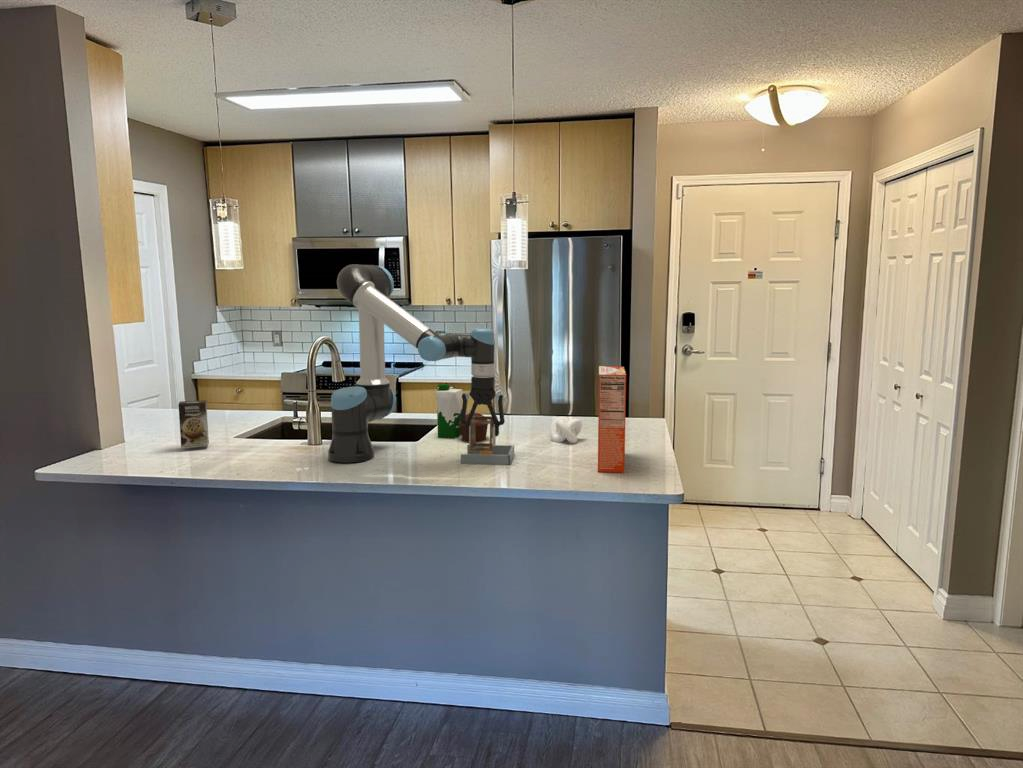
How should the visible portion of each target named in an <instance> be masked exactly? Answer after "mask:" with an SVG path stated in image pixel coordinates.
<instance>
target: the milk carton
mask: <svg viewBox="0 0 1023 768" xmlns="http://www.w3.org/2000/svg"><path fill="white" fill-rule="evenodd" d="M462 394H463V389H461V388H460V389H457V388H450V384H449V383H439V384H438V389H437V390H436V391H435V396H436V397H435V398H436V415H437V418H436V419H437V420H436V421H437V423H436V424H437V438H439V439H454V440H455V439H457V438H458V437H460V436H462V434H461V428H460V425H459V421H460V420H461V413H462V405H463V399H462Z"/></svg>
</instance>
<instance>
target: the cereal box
mask: <svg viewBox="0 0 1023 768" xmlns="http://www.w3.org/2000/svg"><path fill="white" fill-rule="evenodd" d="M626 400H627V372H626V369H625V366H622V365H621V366H620V365H619V366H617V365H616V366H613V365H612V366H611V365H610V366H609V365H607V366H606V365H604V366H603V365H599V366H598V420H597V421H598V424H597V427H598V431H597V432H598V435H597V438H598V439H597V472H598V473H599V472H600V473H625V467H626V466H625V465H626V464H625V461H626V460H625V459H626V458H625V457H626V456H625V455H626V413H627V411H626V406H627V405H626V404H627V402H626Z"/></svg>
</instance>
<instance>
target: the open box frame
mask: <svg viewBox="0 0 1023 768" xmlns="http://www.w3.org/2000/svg"><path fill="white" fill-rule="evenodd" d="M475 419H481V420H475ZM475 423H479V424H488V425H489V442H488V443H486V442H475ZM493 425H495V424H494V422H493V419H492V416H491V415H490V416H488V415H487V416H484V415H483V416H473V418H472V419H471V420H470V450H476V451H492V439H493ZM475 446H490V448H474V447H475Z"/></svg>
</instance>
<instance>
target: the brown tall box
mask: <svg viewBox="0 0 1023 768" xmlns="http://www.w3.org/2000/svg"><path fill="white" fill-rule="evenodd" d="M178 416H179V417H178V418H179V420H178V421H179V432H180V433H179V434H180V435H179V437H180V448H181V449H185V448H186V449H187V448H197V447H208V446H209V444H210V443H209V442H210V441H209V424H208V407H207V400H189V401H186V400H185V401H179V402H178Z"/></svg>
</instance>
